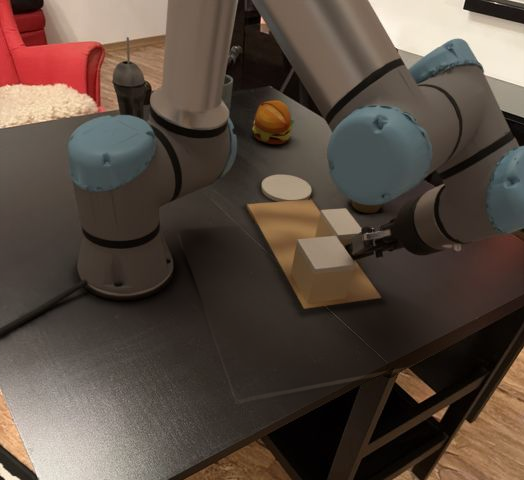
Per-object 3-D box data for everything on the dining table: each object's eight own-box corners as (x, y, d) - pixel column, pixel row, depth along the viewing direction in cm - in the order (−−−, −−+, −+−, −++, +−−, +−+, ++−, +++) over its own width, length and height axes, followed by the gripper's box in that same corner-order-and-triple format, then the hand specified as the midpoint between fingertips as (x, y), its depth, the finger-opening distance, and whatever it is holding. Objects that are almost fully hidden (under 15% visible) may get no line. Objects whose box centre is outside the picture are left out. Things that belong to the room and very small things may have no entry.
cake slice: (355, 266, 86) (365, 232, 81) (329, 268, 85) (338, 235, 80) (337, 240, 91) (346, 208, 86) (313, 243, 90) (320, 209, 85)
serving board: (380, 302, 82) (381, 297, 81) (302, 313, 78) (304, 308, 77) (310, 203, 102) (311, 199, 101) (246, 208, 98) (246, 203, 97)
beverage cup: (112, 135, 114) (100, 39, 100) (127, 124, 119) (117, 31, 105) (140, 142, 113) (132, 46, 99) (154, 131, 118) (148, 38, 104)
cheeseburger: (292, 131, 127) (298, 95, 118) (288, 158, 121) (294, 122, 113) (254, 125, 126) (257, 89, 118) (248, 151, 121) (251, 115, 112)
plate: (288, 209, 99) (289, 205, 99) (250, 187, 104) (251, 183, 103) (320, 193, 105) (321, 189, 105) (283, 173, 110) (284, 169, 109)
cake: (346, 298, 80) (356, 264, 75) (307, 303, 78) (315, 269, 73) (327, 269, 85) (335, 235, 80) (290, 273, 83) (297, 239, 78)
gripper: (395, 256, 58) (317, 279, 80) (483, 246, 61) (385, 271, 84) (387, 193, 57) (312, 234, 80) (477, 187, 61) (380, 228, 84)
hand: (349, 253), depth 82 cm, fingers closed
